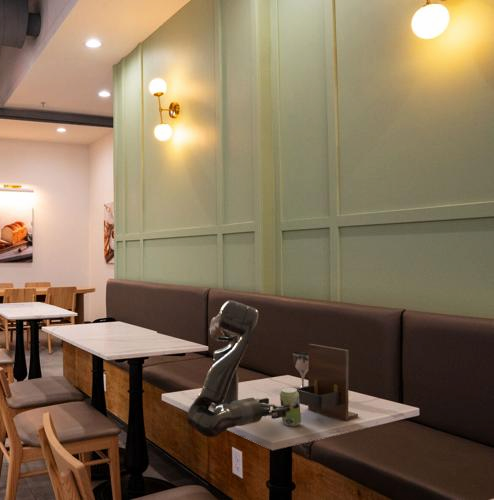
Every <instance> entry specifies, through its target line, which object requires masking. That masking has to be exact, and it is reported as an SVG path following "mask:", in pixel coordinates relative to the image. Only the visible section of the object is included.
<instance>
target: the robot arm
mask: <svg viewBox="0 0 494 500" xmlns="http://www.w3.org/2000/svg"><path fill="white" fill-rule="evenodd" d="M258 321H259V311H258V309H257V308H255V307H253V306H251V305H250V306H249V305H247V304H244V303H242V302H239V301H237V300H236V301H235V300H226V301H225V302H224V303H223V304H222V306H221V308H220V309H219V312H218V314H217V315H216V316H213V317H212V319H211V320H210V323H209V334H210V337H211V339H212V340H213V341H215V342H228V344H227V345H226V346H224V347H222V348H219V349H216V350H214V351H213V354H212V355H213V357H212V358H213V363H212V366H211V367H210V368H209V370H208V371H207V374H206V377H205V380H204V382H203V385H202V389H201V391H200V392H199V393H198V395H197V396H196V398H195V399H194V400H193V402H192V403H191V405H190V407H189V409H188V411H187V414H186V421H187V424H188V425H189V427H191V428H192V429H194V430H195V431H197V432H198V433H199V434H201V435H202V436H204V437H206V438H216V437H217V436H219V435H221V434H222V433H224V432H225V431H226V430H227V429H230V428H235V427H243V426H248V425H251V424H255V423H258V422H260V421H261V420H262V418H263V417H270V418H271V419H273V420H274V419H275V420H276V419H280V418H282V417H285V416H286V412H289V411H290V405H288V404H286V405H282V406H281V405H276V404H275V403H270V399H269V397H264V398H255V397H247V398H242V399H239V364H240V362H241V360H242V359H243V356H244V354H245V352H246V351H247V348H248V345H249V343H250V341H251V340H252V337H253V334H254V333H255V330H256V327H257V325H258ZM211 406H214V409H213V410H210V408H211ZM271 407H272V409H271Z"/></svg>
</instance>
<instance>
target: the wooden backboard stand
mask: <svg viewBox="0 0 494 500" xmlns="http://www.w3.org/2000/svg"><path fill="white" fill-rule="evenodd" d="M307 345H308V350H307V351H308V352H307V353H308V372H307V373H308V375H307V376H308V377H307V385H306V386H305V385H304V386H305V387H300V386H299V387H300V388H295V387H294V388H295V389H297V392H298V393H299V401H300V405H303V406H306V407H307V410H308V411H311V412H315V413H318V414H322V415H323V416H324V415H325V416H328V417H331V418H335V419H338V420H342V421H344V422H346V421H347V422H348V421H350V420H353V419H357V418H359V413H356V412H352V411H350V410H349V377H350V376H349V375H350V374H349V368H350V367H349V363H350V362H349V361H350V360H349V357H350V356H349V353H350V352H349V349H343V348H338V347H332V346H326V345H320V344H315V343H314V344H313V343H308V344H307Z"/></svg>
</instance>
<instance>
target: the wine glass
mask: <svg viewBox="0 0 494 500" xmlns="http://www.w3.org/2000/svg"><path fill="white" fill-rule="evenodd" d="M292 353H293V354H292V359H293V361H292V362H293V365H294V368H295V369H296V370H297V371H298V372H299V374H300V377H301V386H295V387H294V388H300V387H305V377H306V374H307V373H308V352H305V351H294V352H292Z"/></svg>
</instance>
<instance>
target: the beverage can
mask: <svg viewBox="0 0 494 500" xmlns="http://www.w3.org/2000/svg"><path fill="white" fill-rule="evenodd" d="M279 401H280V406H282V405H286V404H288V405H290V411H289V412H286V416H285V417H281V420H282V422H283V423H284V424H285V425H287V426H291V427H294V426H298V425H299V424H301V423H302V415H301V404H300V401H299V393H298V392H297V389H295V387H291V386H285V387H282V388H281V389H280V392H279Z"/></svg>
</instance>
